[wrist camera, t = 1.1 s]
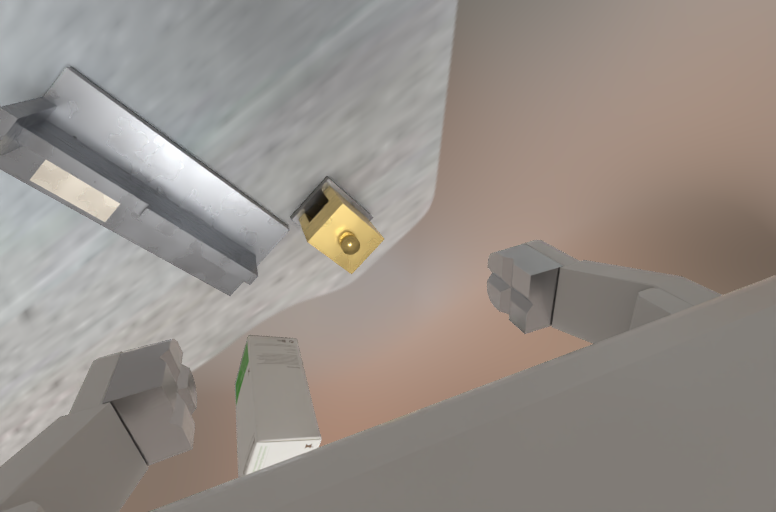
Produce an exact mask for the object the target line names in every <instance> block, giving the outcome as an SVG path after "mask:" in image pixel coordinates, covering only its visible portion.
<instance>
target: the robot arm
mask: <svg viewBox="0 0 776 512" xmlns="http://www.w3.org/2000/svg"><path fill="white" fill-rule="evenodd" d="M488 268H489V269H490V271H491V272H492V274H491V276H490V277H489V279H488V281H487V292H488V295H489V298H490V301H491V302H492V304H493V305H494V307H496V308H497V309H498V310H499V311H501V312H504V313H507V314H509V320H510V321H511V322H512V323H513V324H514V325H516V326H517V327H518V328H519V329H520V330H521V331H522V332H523V333H524V334H526V333H530V332H533V331H536V330H539V329H542V328H545V327H549V326H552V327H553V328H556V329H558V330H561V331H563V332H565V333H568V334H570V335H573V336H575V337H578V338H580V339H583V340H585V341H588V342H591V343H593V344H592V345H590V346H587V347H585V348H582V349H579V350H576V351H574V352H571V353H568V354H566V355H563V356H560V357H558V358H555V359H552V360H550V361H547V362H544V363H542V364H539V365H536V366H534V367H531V368H528V369H526V370H523V371H520V372H518V373H515V374H512V375H510V376H507V377H504V378H502V379H499V380H497V381H494V382H491V383H488V384H486V385H483V386H480V387H478V388H475V389H472V390H470V391H467V392H465V393H462V394H460V395H457V396H454V397H451V398H449V399H446V400H443V401H441V402H438V403H436V404H433V405H430V406H428V407H425V408H422V409H420V410H417V411H414V412H412V413H409V414H407V415H404V416H401V417H399V418H396V419H393V420H391V421H388V422H386V423H383V424H380V425H378V426H375V427H372V428H369V429H367V430H364V431H361V432H359V433H356V434H354V435H351V436H348V437H346V438H343V439H340V440H338V441H335V442H332V443H330V444H327V445H324V446H322V447H319V448H316V449H314V450H311V451H308V452H306V453H303V454H300V455H298V456H295V457H292V458H290V459H287V460H284V461H282V462H279V463H276V464H274V465H271V466H269V467H266V468H263V469H261V470H258V471H255V472H253V473H250V474H247V475H245V476H242V477H239V478H237V479H234V480H231V481H229V482H226V483H223V484H221V485H218V486H215V487H213V488H210V489H207V490H205V491H202V492H199V493H197V494H194V495H191V496H189V497H186V498H184V499H181V500H178V501H176V502H173V503H170V504H168V505H165V506H162V507H160V508H157V509H154V510H152V511H149V512H776V275H775V276H772V277H770V278H767V279H764V280H762V281H759V282H756V283H754V284H751V285H749V286H746V287H743V288H740V289H738V290H735V291H733V292H730V293H727V294H725V295H721V294H719V293H717V292H714V291H712V290H710V289H708V288H705V287H703V286H701V285H699V284H697V283H695V282H693V281H691V280H688V279H686V278H684V277H682V276H676V275H670V274H664V273H658V272H652V271H646V270H641V269H634V268H629V267H623V266H617V265H610V264H605V263H599V262H593V261H587V260H583V261H579V260H577V259H575V258H573V257H571V256H569V255H568V254H566V253H564V252H562V251H560V250H558V249H556V248H555V247H553V246H551V245H549V244H547V243H545V242H543V241H542V240H533V241H530V242H527V243H524V244H521V245H518V246H515V247H511V248H508V249H505V250H501V251H498V252H494V253H492V254H490V256H489V259H488ZM182 356H183V352H182V350H181V348H180V346H179V344H178V342H177V341H176V340H175V339H170V340H166V341H162V342H158V343H154V344H150V345H146V346H142V347H138V348H134V349H130V350H126V351H124V352H118V353H114V354H111V355H107V356H104V357H100V358H98V359H96V360H94V361H93V363H92V365H91V367H90V369H89V371H88V373H87V375H86V378H85V380H84V382H83V384H82V386H81V389H80V391H79V393H78V395H77V397H76V399H75V402H74V404H73V406H72V408H71V410H70V412H69V414H68V415H65V416H62V417H59V418H58V419H57V420H56V421H54V422H53V423H52V424H51V425H50V426H48V427H47V428H46V429H45V430H44V431H42V432H41V433H40V434H39V435H38V436H37V437H35V438H34V439H33V440H32V441H31V442H29V443H28V444H27V445H26V446H25V447H23V448H22V449H21V450H20V451H19V452H17V453H16V454H15V455H14V456H13V457H11V458H10V459H9V460H8V461H7V462H5V463H4V464H3V465H2V466H1V467H0V512H119V511H120V509H121V507H122V506H123V505H124V503H125V502H126V500H127V499H128V497H129V496H130V494H131V493H132V491H133V490H134V488H135V487H136V486H137V484H138V482H139V481H140V480H141V478H142V477H143V475H144V474H145V472H146V471H147V469H148V466H149V465H151V464H154V463H156V462H159V461H162V460H165V459H167V458H170V457H173V456H175V455H178V454H181V453H183V452H186V451H189V450H191V449H193V439H194V428H195V423H194V421H193V419H192V417H191V414H192V413H193V412H194V411H195V409H196V406H197V394H196V386H195V382H194V379H193V376H192V373H191V371H190V368H188V367H186V366H184V365H182V364H181V363H182Z"/></svg>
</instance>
